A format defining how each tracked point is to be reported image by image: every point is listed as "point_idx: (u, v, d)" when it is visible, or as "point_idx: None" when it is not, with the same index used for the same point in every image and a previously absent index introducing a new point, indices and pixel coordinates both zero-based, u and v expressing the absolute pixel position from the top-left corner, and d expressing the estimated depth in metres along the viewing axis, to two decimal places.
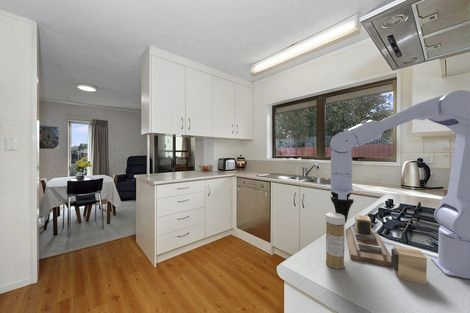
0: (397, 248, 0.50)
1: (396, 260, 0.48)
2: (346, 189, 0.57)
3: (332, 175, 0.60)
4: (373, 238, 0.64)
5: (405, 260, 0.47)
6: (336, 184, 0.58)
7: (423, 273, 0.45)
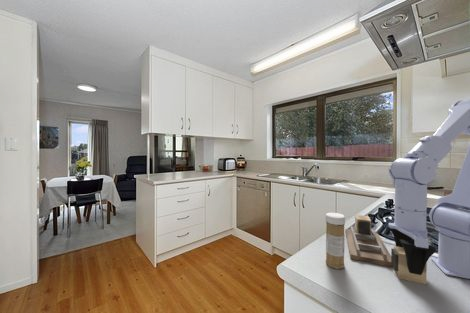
0: (397, 248, 0.50)
1: (396, 260, 0.48)
2: (421, 231, 0.45)
3: (399, 211, 0.47)
4: (373, 238, 0.64)
5: (405, 260, 0.47)
6: (406, 223, 0.46)
7: (423, 273, 0.45)
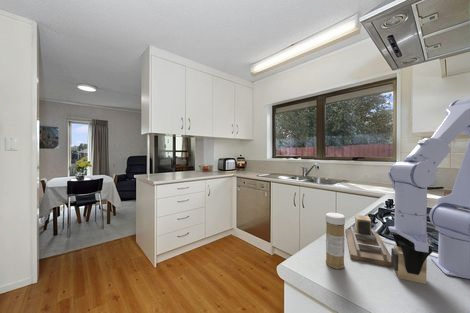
0: (397, 248, 0.50)
1: (396, 260, 0.48)
2: (421, 234, 0.45)
3: (399, 214, 0.47)
4: (373, 238, 0.64)
5: None
6: (406, 227, 0.46)
7: (423, 273, 0.45)
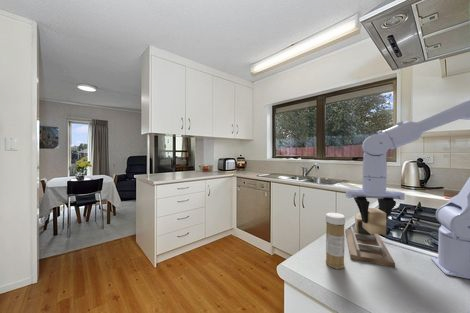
0: (373, 208, 0.60)
1: None
2: (365, 191, 0.58)
3: None
4: (373, 238, 0.64)
5: None
6: (362, 186, 0.60)
7: (369, 224, 0.57)
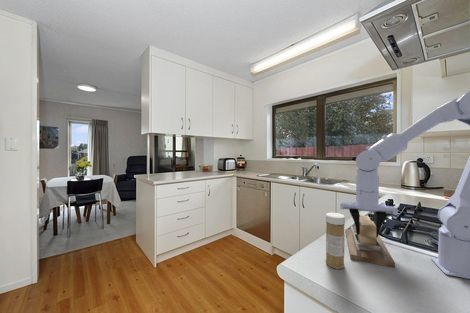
0: (368, 221, 0.63)
1: None
2: (357, 204, 0.61)
3: None
4: None
5: None
6: None
7: (360, 235, 0.60)
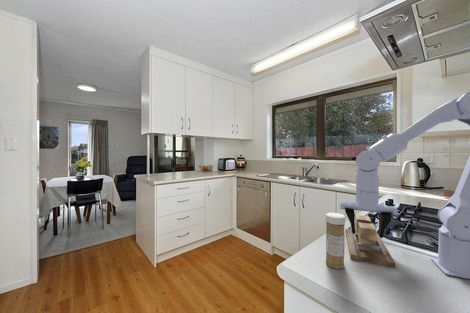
0: (368, 223, 0.63)
1: (359, 228, 0.64)
2: (357, 204, 0.61)
3: None
4: None
5: (358, 227, 0.63)
6: None
7: (360, 239, 0.60)
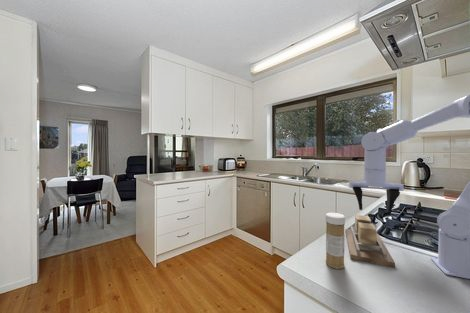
0: (368, 223, 0.63)
1: (359, 228, 0.64)
2: (365, 182, 0.66)
3: None
4: None
5: (358, 227, 0.63)
6: None
7: (360, 239, 0.60)
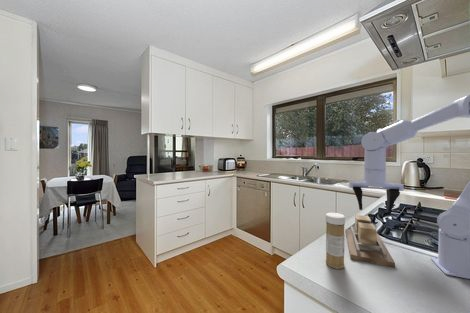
0: (368, 223, 0.63)
1: (359, 228, 0.64)
2: (365, 182, 0.66)
3: None
4: None
5: (358, 227, 0.63)
6: None
7: (360, 239, 0.60)
